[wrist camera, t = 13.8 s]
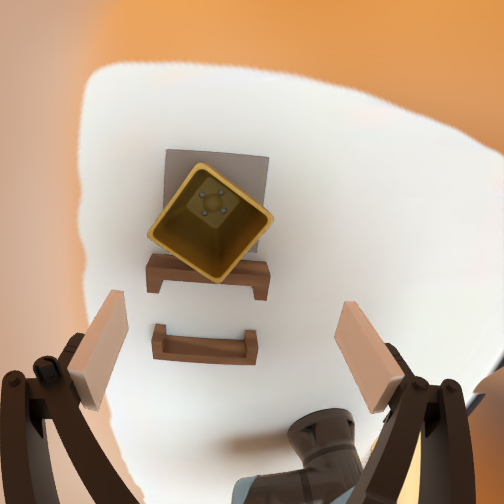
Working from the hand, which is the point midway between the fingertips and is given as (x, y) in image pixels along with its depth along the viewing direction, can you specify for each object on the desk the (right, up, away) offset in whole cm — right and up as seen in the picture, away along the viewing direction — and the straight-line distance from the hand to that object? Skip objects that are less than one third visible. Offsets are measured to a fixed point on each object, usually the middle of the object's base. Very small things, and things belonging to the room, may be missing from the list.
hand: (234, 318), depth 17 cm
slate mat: (-4, +10, +19) cm, 22 cm away
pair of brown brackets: (-5, -4, +25) cm, 25 cm away
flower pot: (-4, +10, +18) cm, 21 cm away
